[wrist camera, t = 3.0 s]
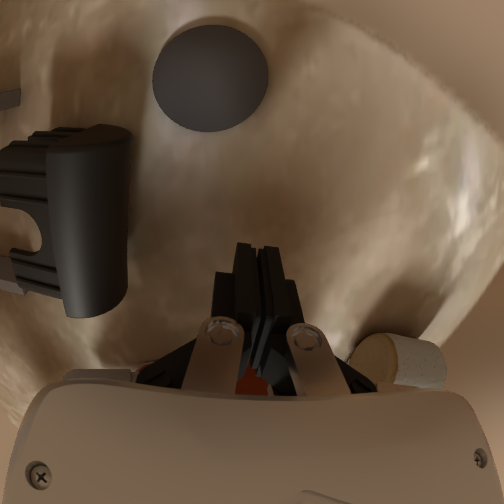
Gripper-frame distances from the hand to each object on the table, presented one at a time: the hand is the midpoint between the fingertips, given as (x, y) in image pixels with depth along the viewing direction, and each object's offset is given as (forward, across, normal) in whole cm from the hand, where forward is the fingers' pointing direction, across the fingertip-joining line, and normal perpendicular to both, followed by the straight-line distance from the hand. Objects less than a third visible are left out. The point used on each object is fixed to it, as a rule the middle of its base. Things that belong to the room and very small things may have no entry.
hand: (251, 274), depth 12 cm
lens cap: (+8, +3, -7) cm, 11 cm away
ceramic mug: (+8, -16, +14) cm, 23 cm away
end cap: (+8, +10, +1) cm, 13 cm away
